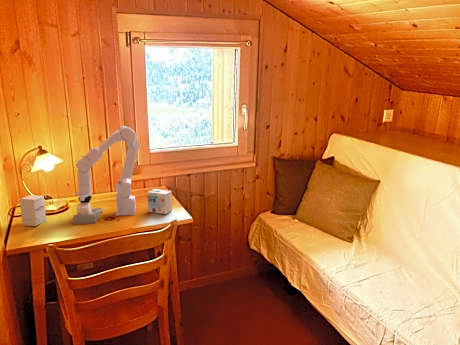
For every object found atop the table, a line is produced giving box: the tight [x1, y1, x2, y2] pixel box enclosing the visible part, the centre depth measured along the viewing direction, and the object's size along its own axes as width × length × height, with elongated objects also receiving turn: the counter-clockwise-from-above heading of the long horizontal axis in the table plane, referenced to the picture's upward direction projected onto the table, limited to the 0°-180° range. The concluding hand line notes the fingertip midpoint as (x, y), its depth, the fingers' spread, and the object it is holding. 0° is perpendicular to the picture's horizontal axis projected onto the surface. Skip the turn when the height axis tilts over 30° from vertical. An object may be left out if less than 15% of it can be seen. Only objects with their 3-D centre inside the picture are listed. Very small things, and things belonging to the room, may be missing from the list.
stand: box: [91, 207, 105, 214], centre depth 189 cm, size 6×6×1 cm
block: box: [76, 201, 92, 215], centre depth 175 cm, size 5×5×6 cm
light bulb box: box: [147, 188, 173, 215], centre depth 189 cm, size 11×7×11 cm, turn 70°
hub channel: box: [72, 209, 101, 225], centre depth 177 cm, size 10×14×4 cm
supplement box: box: [19, 194, 47, 227], centre depth 170 cm, size 7×7×13 cm
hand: (85, 211), depth 178 cm, fingers closed, pressing on block
